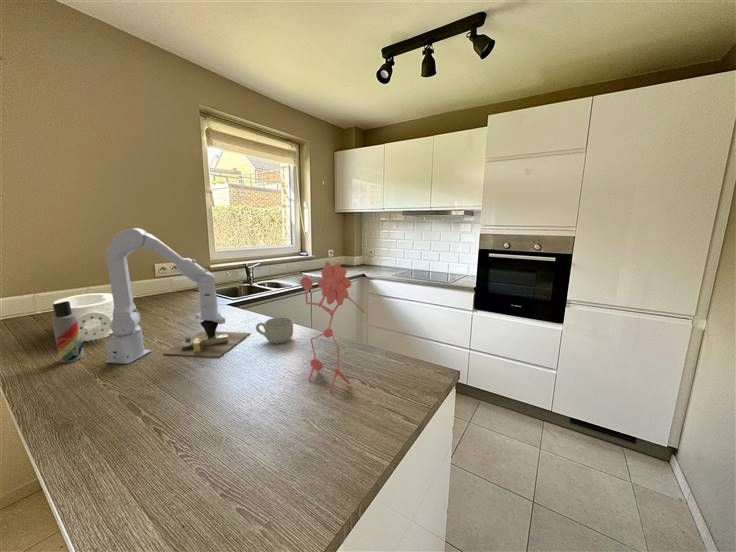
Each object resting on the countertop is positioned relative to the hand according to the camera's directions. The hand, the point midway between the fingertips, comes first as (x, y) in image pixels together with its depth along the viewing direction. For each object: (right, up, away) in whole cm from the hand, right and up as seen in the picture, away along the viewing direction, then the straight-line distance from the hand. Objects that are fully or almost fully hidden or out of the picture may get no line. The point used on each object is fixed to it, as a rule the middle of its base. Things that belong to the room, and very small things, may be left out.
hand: (211, 338), depth 112 cm
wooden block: (-1, -1, -3) cm, 3 cm away
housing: (-56, +1, +13) cm, 57 cm away
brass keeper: (0, -2, -6) cm, 6 cm away
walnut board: (0, -2, -1) cm, 2 cm away
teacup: (+24, -2, +3) cm, 24 cm away
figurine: (+50, -7, -24) cm, 56 cm away
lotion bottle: (-40, -4, -13) cm, 42 cm away
